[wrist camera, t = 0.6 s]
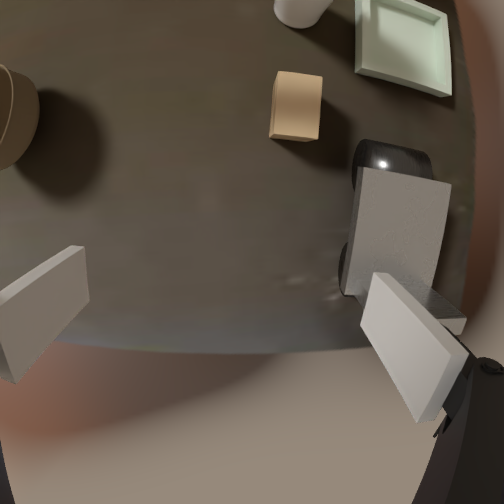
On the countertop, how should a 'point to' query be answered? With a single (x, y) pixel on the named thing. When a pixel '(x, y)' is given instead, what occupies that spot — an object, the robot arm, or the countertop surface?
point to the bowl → (16, 115)
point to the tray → (403, 44)
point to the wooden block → (295, 107)
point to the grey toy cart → (397, 227)
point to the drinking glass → (300, 11)
